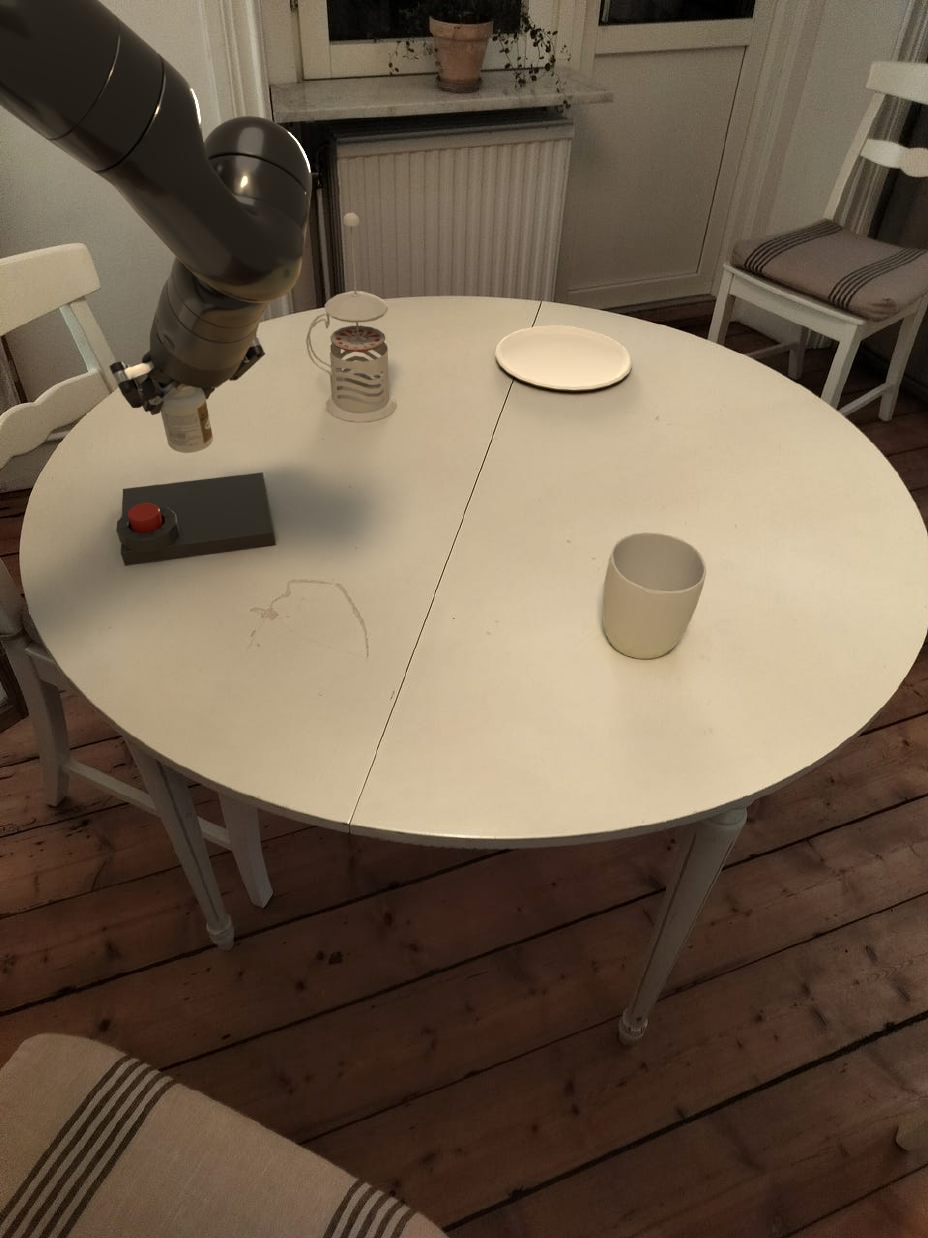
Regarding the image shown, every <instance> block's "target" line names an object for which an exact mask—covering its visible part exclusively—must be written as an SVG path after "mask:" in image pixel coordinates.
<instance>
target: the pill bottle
mask: <svg viewBox="0 0 928 1238" xmlns="http://www.w3.org/2000/svg"><path fill="white" fill-rule="evenodd" d="M163 401H164V403H163V405H162V408H161V411H160V414H161V419H162V424H163V427H164V433H165V436H166V440H167V444H168V446H169V447H170V448H171V449H172V450H174V451H175V452H178V453H183V454H192V453H196V452H200V451H203V450H206V449H207V448H208V447H209V446H211V445H212V443H213V441H214V435H213V430H212V425H211V421H210V420H211V418H210V414H209V409H208V403H207V399H206V398H205V394H204V391H203V390H202V389H201V388H196V387H191V386H188V387H184V388H183V389H182V390H181V391H180V392H179V393H178V394H177V395H176V396H175V397H170V398H165V399H164V400H163Z"/></svg>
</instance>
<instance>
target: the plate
mask: <svg viewBox="0 0 928 1238" xmlns="http://www.w3.org/2000/svg"><path fill="white" fill-rule="evenodd" d="M494 358H495V359H496V361H497V363H498V366H499V367H501V369H503V371H505V372H506V373H507V375H509V376H511V377H513V378H515V379H517V380H518V381H520V382H523V383H525V384H528V385H531V386H535V387H538V388H542V389H547V390H552V391H562V392H584V391H585V392H586V391H594V390H599V389H604V388H609V387H610V386H613V385H615V384H617V383H620V382H621V381H622V380H624V378H626V377H627V376H628V375H629V374H630V372H631V369H632V367H633V361H632V356H631V355H630V353H629V352H628V350H627V349H626V347H625V346H623V345H622V344H621V343H619V342H618V341H616V340H615V339H613V338H611V337H610V336H607V335H605V334H603V333H600V332H597V331H594V330H591V329H586V328H581V327H576V326H569V325H556V324H555V325H538V326H532V327H528V328H526V327H525V328H522V329H519V330H516V331H514V332H511V333H509V334H508V335H506V336H505V337H503V338H502V339H501V340H500V341H499V342H498V344H497V345H496V347H495V354H494Z"/></svg>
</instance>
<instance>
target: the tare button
mask: <svg viewBox="0 0 928 1238" xmlns="http://www.w3.org/2000/svg"><path fill="white" fill-rule="evenodd" d="M128 517H129V520H130V524H131V527H132V529H133V531H135V532H137V533H149V532H153V531H155V530H157V529H159V528H161V526H162V524H163V521H162V517H161V514H160V510H159V508H158V506H156V505H154V504H151V503H143V504H139V505H136V506H134V507H132V508H131V509H130V510H129V512H128Z"/></svg>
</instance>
